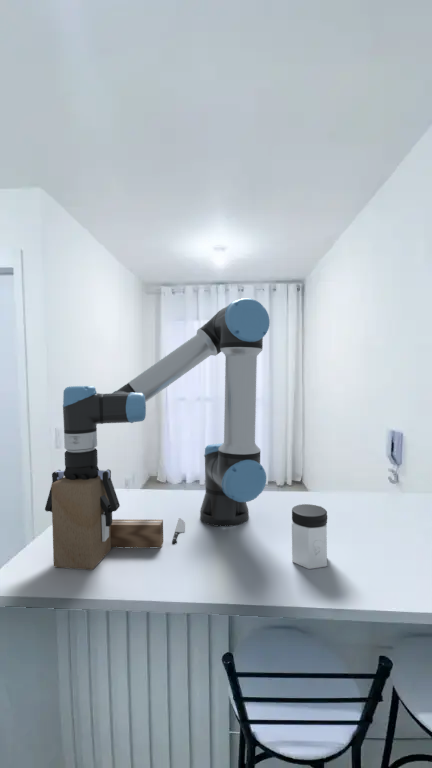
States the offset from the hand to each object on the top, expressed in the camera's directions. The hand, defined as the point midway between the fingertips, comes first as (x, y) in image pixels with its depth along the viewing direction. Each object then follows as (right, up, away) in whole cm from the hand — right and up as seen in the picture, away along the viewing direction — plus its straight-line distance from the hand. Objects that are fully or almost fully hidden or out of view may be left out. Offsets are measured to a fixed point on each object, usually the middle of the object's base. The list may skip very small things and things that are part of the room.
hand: (83, 538), depth 89 cm
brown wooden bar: (+6, -5, +7) cm, 11 cm away
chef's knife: (+22, -5, +16) cm, 28 cm away
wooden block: (0, -5, 0) cm, 5 cm away
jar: (+55, -4, -2) cm, 55 cm away
